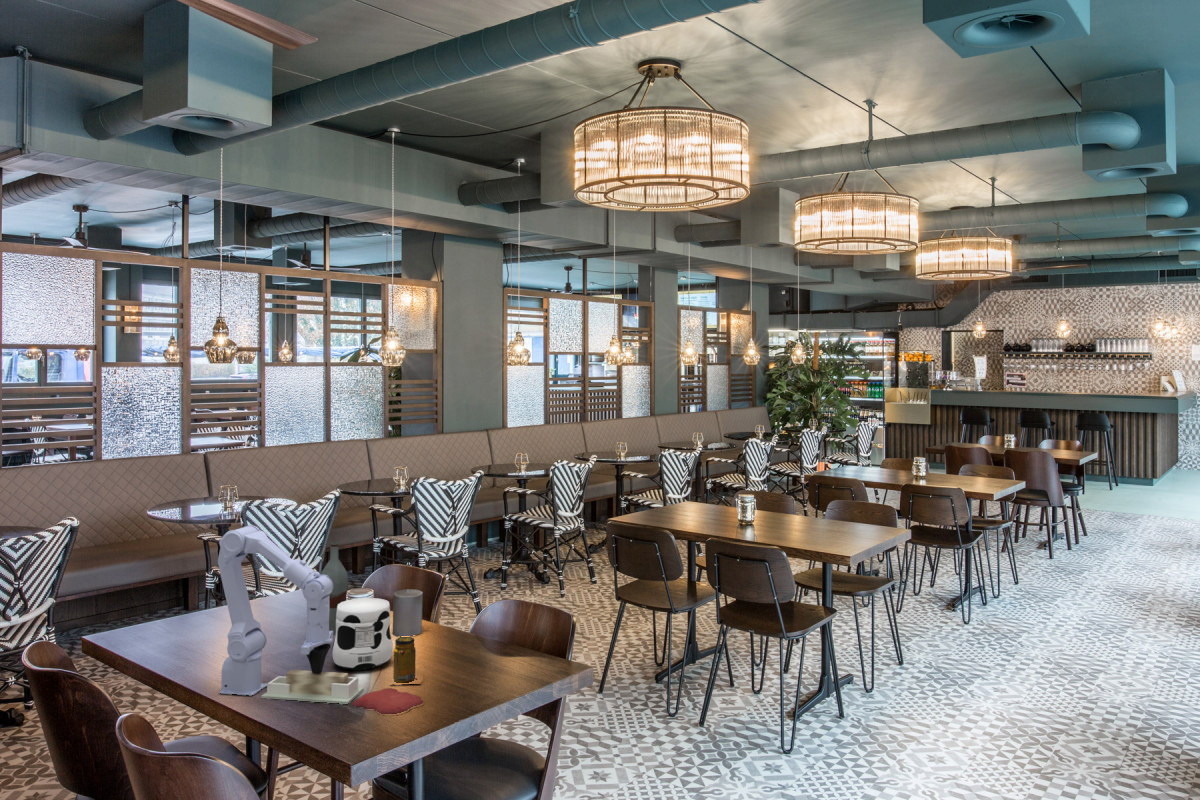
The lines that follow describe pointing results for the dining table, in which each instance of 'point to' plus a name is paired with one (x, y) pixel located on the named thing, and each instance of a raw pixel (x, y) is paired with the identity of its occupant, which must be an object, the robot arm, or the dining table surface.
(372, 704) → the patty
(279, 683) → the end caps
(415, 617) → the pillar candle
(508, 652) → the dining table surface
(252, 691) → the robot arm
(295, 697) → the cap board
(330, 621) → the bottle
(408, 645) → the condiment
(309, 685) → the slat
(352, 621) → the milk container
